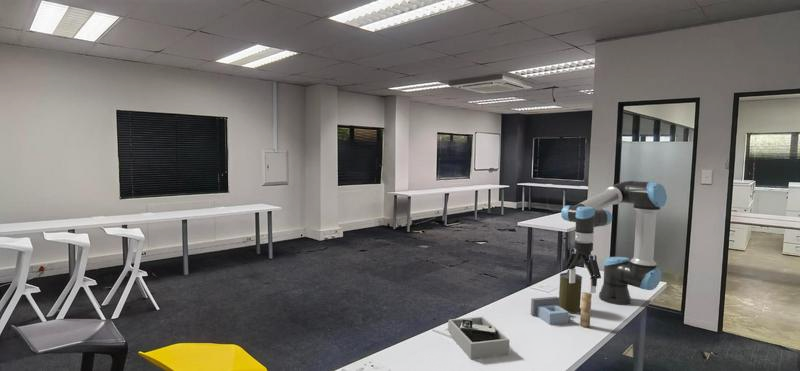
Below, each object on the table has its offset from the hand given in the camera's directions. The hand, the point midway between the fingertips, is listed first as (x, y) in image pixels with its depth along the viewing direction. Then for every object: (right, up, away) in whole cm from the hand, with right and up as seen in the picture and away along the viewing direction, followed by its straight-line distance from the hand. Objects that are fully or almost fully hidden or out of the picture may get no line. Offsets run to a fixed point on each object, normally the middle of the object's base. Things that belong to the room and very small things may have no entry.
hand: (581, 287), depth 186 cm
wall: (-12, -17, +15) cm, 25 cm away
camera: (-50, -18, -18) cm, 57 cm away
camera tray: (-51, -18, -18) cm, 57 cm away
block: (-10, -17, +9) cm, 22 cm away
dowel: (+2, -18, +2) cm, 18 cm away
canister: (+3, -16, +21) cm, 27 cm away
